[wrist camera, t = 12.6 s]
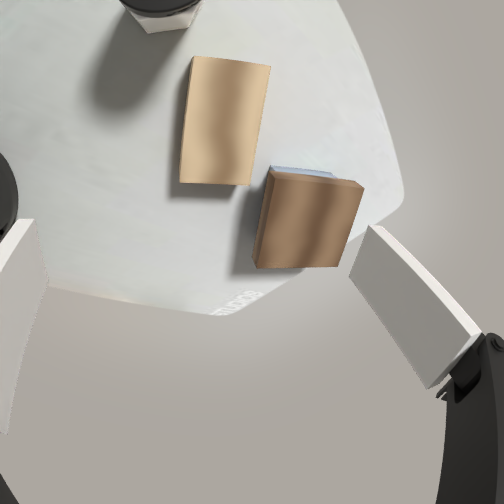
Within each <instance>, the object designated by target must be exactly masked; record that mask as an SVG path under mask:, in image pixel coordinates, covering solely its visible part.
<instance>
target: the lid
mask: <svg viewBox="0 0 504 504" xmlns="http://www.w3.org/2000/svg"><path fill="white" fill-rule="evenodd" d="M364 189H365V188H363V187H362V186H361V185H359V184H358V183H357V182H355V181H351V180H345V179H337V178H330V177H322V176H314V175H306V174H297V173H288V172H278V171H269V172H268V178H267V183H266V188H265V193H264V198H263V203H262V208H261V213H260V218H259V224H258V229H257V234H256V239H255V244H254V249H253V254H252V258H253V261H254V263H255V266H256V268H304V267H338V264H339V261H340V259H341V256H342V253H343V251H344V248H345V245H346V242H347V239H348V237H349V234H350V231H351V228H352V225H353V222H354V219H355V216H356V213H357V210H358V207H359V204H360V201H361V198H362V195H363V192H364Z"/></svg>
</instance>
